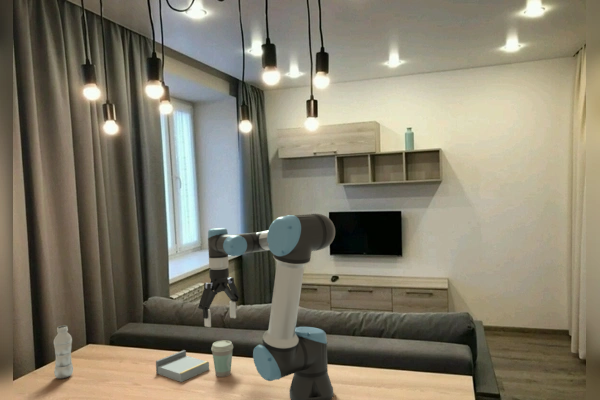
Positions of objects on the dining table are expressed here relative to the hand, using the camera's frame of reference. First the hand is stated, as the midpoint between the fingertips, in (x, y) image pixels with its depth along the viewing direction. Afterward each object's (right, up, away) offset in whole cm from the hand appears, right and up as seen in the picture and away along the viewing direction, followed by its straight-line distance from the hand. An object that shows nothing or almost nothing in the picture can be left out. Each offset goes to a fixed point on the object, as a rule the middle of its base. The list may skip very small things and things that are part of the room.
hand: (220, 322), depth 174 cm
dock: (-15, -21, +4) cm, 26 cm away
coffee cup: (+1, -21, +1) cm, 21 cm away
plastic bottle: (-62, -23, +2) cm, 66 cm away
